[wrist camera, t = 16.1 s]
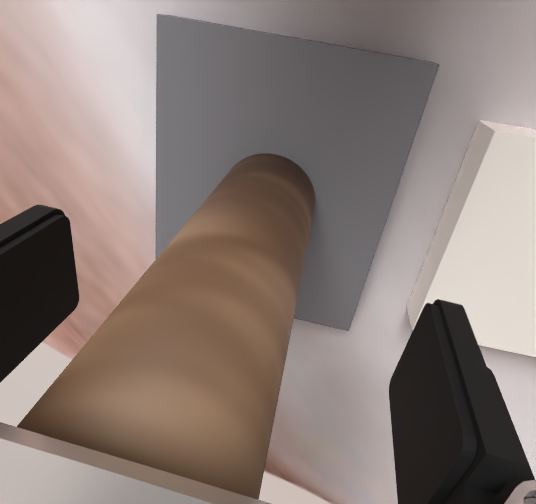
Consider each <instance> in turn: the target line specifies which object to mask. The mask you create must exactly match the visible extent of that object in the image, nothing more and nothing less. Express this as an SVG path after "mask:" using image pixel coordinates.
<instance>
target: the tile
mask: <svg viewBox="0 0 536 504" xmlns="http://www.w3.org/2000/svg"><path fill="white" fill-rule="evenodd" d="M437 299H440V300H444V301H448V302H452V303H456V304H461V305H463V307H464V309H465V311H466V314H467V317H468V319H469V322H470V325H471V327H472V330H473V333H474V335H475V338H476V340H477V343H478V345H480V346H485V347H490V348H494V349H499V350H504V351H508V352H513V353H518V354H523V355H527V356H532V357H536V129H531V128H525V127H518V126H512V125H506V124H500V123H494V122H488V121H482V120H479V121H478V123H477V126H476V129H475V131H474V134H473V136H472V139H471V141H470V144H469V147H468V149H467V152H466V154H465V157H464V159H463V162H462V165H461V167H460V170H459V172H458V175H457V178H456V180H455V183H454V185H453V188H452V190H451V193H450V196H449V198H448V201H447V203H446V206H445V209H444V211H443V214H442V216H441V219H440V221H439V224H438V227H437V229H436V232H435V234H434V237H433V239H432V242H431V245H430V247H429V250H428V252H427V255H426V258H425V260H424V263H423V265H422V268H421V270H420V273H419V276H418V278H417V281H416V283H415V286H414V289H413V291H412V294H411V296H410V299H409V301H408V304H407V309H408V314H409V319H410V324H411V328H412V331H413V330H414V327H415V325H416V323H417V321H418V319H419V316H420V314H421V312H422V310H423V308H424V306H425V304H426V303H431V304H433V303H434V301H435V300H437Z"/></svg>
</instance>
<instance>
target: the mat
mask: <svg viewBox="0 0 536 504" xmlns="http://www.w3.org/2000/svg"><path fill="white" fill-rule="evenodd" d="M438 67H439V65H438V64H436V63H433V62H428V61H422V60H417V59H411V58H405V57H400V56H394V55H389V54H383V53H377V52H372V51H366V50H361V49H355V48H350V47H344V46H338V45H333V44H327V43H322V42H316V41H311V40H305V39H299V38H294V37H288V36H283V35H277V34H271V33H266V32H260V31H255V30H249V29H244V28H238V27H232V26H227V25H221V24H216V23H210V22H205V21H199V20H193V19H188V18H182V17H177V16H171V15H161V14H157V82H156V259H157V258H158V257H159V255H160V254H161V253H162V252H163V251H164V249H165V248H166V247H167V246H168V245H169V243H170V242H171V241H172V240H173V239H174V237H175V236H176V235H177V234H178V233H179V231H180V230H181V229H182V228H183V227H184V225H185V224H186V223H187V222H188V221H189V219H190V218H191V217H192V216H193V215H194V213H195V212H196V211H197V210H198V209H199V207H200V206H201V205H202V204H203V203H204V201H205V200H206V199H207V198H208V197H209V195H210V194H211V193H212V192H213V191H214V189H215V188H216V187H217V186H218V185H219V183H220V182H221V181H222V180H223V179H224V177H225V176H226V175H227V174H228V173H229V171H230V170H231V169H232V168H233V167H234V166H235V165H236V164H237V163H238V162H239V161H241V160H243V159H244V158H246V157H249V156H251V155H255V154H261V153H270V154H277V155H280V156H283V157H286V158H288V159H290V160H291V161H293V162H295V163H296V164H297V165H299V166H300V167H301V168H302V169H303V170H304V172H305V173H306V174H307V175H308V177H309V179H310V181H311V183H312V185H313V188H314V192H315V209H314V214H313V219H312V225H311V230H310V235H309V240H308V245H307V251H306V256H305V261H304V266H303V271H302V276H301V282H300V287H299V292H298V297H297V302H296V307H295V313H294V318H296V319H300V320H304V321H308V322H313V323H317V324H321V325H325V326H329V327H334V328H338V329H342V330H346V331H349V328H350V325H351V322H352V320H353V317H354V314H355V311H356V308H357V305H358V302H359V299H360V296H361V293H362V290H363V287H364V284H365V281H366V278H367V275H368V272H369V270H370V267H371V264H372V261H373V258H374V255H375V252H376V249H377V246H378V243H379V240H380V237H381V234H382V231H383V228H384V225H385V222H386V220H387V217H388V214H389V211H390V208H391V205H392V202H393V199H394V196H395V193H396V190H397V187H398V184H399V181H400V178H401V175H402V172H403V170H404V167H405V164H406V161H407V158H408V155H409V152H410V149H411V146H412V143H413V140H414V137H415V134H416V131H417V128H418V125H419V123H420V120H421V117H422V114H423V111H424V108H425V105H426V102H427V99H428V96H429V93H430V90H431V87H432V84H433V81H434V78H435V75H436V73H437V70H438Z"/></svg>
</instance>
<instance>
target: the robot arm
mask: <svg viewBox="0 0 536 504" xmlns="http://www.w3.org/2000/svg"><path fill="white" fill-rule="evenodd" d="M78 302H79V291H78V283H77V275H76V267H75V259H74V251H73V243H72V235H71V227H70V221H69V219H68V217H66V216H65V214H64V212H63V211H62V210H60V209H56V208H52V207H48V206H44V205H36V206H33V207H31V208H30V209H28V210H26V211H24V212H22V213H20V214H18V215H17V216H15V217H13V218H11V219H9V220H7V221H5V222H4V223H2V224H0V382H1V381H2V380H3V379H4V378H5V377H6V376H7V375H8V374H9V373H11V372H12V371H13V370H14V369H15V368H16V367H17V366H18V365H19V363H21V362H22V361H23V360H24V359H25V358H26V357H27V356H28V355H29V354H30V353H31V352H32V351H33V350H34V349H35V348H36V347H37V346H38V345H39V344H40V343H41V342H42V341H43V340H44V339H45V338H46V337H47V336H48V335H49V334H50V333H51V332H52V331H53V330H54V329H55V328H56V327H57V326H58V325H59V324H60V323H62V322H63V321H64V320H65V319H66V318H67V317H68V316H69V315H70V314H71V313H72V312H73V311H74V310H75V308H76V307H77V305H78ZM389 399H390V411H391V423H392V435H393V447H394V459H395V471H396V483H397V495H398V504H536V480H535V479H534V476H533V473H532V471H531V468H530V466H529V463H528V461H527V458H526V456H525V453H524V450H523V448H522V445H521V443H520V440H519V438H518V435H517V433H516V430H515V427H514V425H513V422H512V420H511V417H510V415H509V412H508V410H507V407H506V404H505V402H504V399H503V397H502V394H501V392H500V389H499V387H498V384H497V382H496V379H495V376H494V375H493V373H492V371H491V370H490V369H489V368H487V367H486V364H485V362H484V359H483V356H482V354H481V351H480V348H479V346H478V343H477V340H476V338H475V335H474V333H473V330H472V327H471V325H470V322H469V319H468V317H467V314H466V311H465V309H464V307H463V305H461V304H456V303H452V302H448V301H444V300H440V299H437V300H435V301H434V303H433V304H431V303H426V304H425V306H424V308H423V310H422V312H421V314H420V316H419V319H418V321H417V323H416V325H415V327H414V330H413V332H412V334H411V336H410V338H409V341H408V343H407V345H406V347H405V349H404V352H403V354H402V356H401V358H400V360H399V362H398V365H397V367H396V369H395V371H394V373H393V376H392V378H391V381H390V386H389ZM0 504H270V503H267V502H264V501H260V500H257V499H254V498H251V497H247V496H244V495H241V494H237V493H234V492H231V491H228V490H224V489H221V488H218V487H215V486H211V485H208V484H205V483H201V482H198V481H195V480H192V479H188V478H185V477H182V476H178V475H175V474H172V473H169V472H165V471H162V470H159V469H155V468H152V467H149V466H145V465H142V464H139V463H135V462H132V461H129V460H125V459H122V458H119V457H115V456H112V455H109V454H105V453H102V452H99V451H95V450H92V449H88V448H85V447H82V446H78V445H75V444H72V443H68V442H65V441H62V440H58V439H55V438H52V437H48V436H45V435H42V434H38V433H35V432H31V431H28V430H25V429H21V428H18V427H14V426H11V425H7V424H4V423H0Z"/></svg>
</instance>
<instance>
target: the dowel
mask: <svg viewBox="0 0 536 504" xmlns="http://www.w3.org/2000/svg"><path fill="white" fill-rule="evenodd" d="M314 209H315V192H314V188H313V185H312V183H311V181H310V179H309V177H308V175H307V174H306V173H305V172H304V170H303V169H302V168H301V167H300V166H299V165H297V164H296V163H295V162H293V161H291V160H290V159H288V158H286V157H283V156H280V155H277V154H270V153H261V154H255V155H251V156H249V157H246V158H244V159H243V160H241V161H239V162H238V163H237V164H236V165H235V166H234V167H233V168H232V169H231V170H230V171H229V173H228V174H227V175H226V176H225V177H224V179H223V180H222V181H221V182H220V183H219V185H218V186H217V187H216V188H215V189H214V191H213V192H212V193H211V194H210V195H209V197H208V198H207V199H206V200H205V201H204V203H203V204H202V205H201V206H200V207H199V209H198V210H197V211H196V212H195V213H194V215H193V216H192V217H191V218H190V219H189V221H188V222H187V223H186V224H185V225H184V227H183V228H182V229H181V230H180V231H179V233H178V234H177V235H176V236H175V237H174V239H173V240H172V241H171V242H170V243H169V245H168V246H167V247H166V248H165V249H164V251H163V252H162V253H161V254H160V255H159V257H158V258H157V259H156V260H155V261H154V263H153V264H152V265H151V266H150V267H149V269H148V270H147V271H146V272H145V273H144V275H143V276H142V277H141V278H140V279H139V281H138V282H137V283H136V284H135V285H134V287H133V288H132V289H131V290H130V291H129V293H128V294H127V295H126V296H125V297H124V299H123V300H122V301H121V302H120V303H119V305H118V306H117V307H116V308H115V309H114V311H113V312H112V313H111V314H110V315H109V317H108V318H107V319H106V320H105V321H104V323H103V324H102V325H101V326H100V327H99V329H98V330H97V331H96V332H95V333H94V335H93V336H92V337H91V338H90V339H89V341H88V342H87V343H86V344H85V345H84V347H83V348H82V349H81V350H80V351H79V353H78V354H77V355H76V356H75V357H74V359H73V360H72V361H71V362H70V363H69V365H68V366H67V367H66V369H64V371H63V372H62V373H61V374H60V375H59V377H58V378H57V379H56V380H55V381H54V383H53V384H52V385H51V386H50V387H49V389H48V390H47V391H46V393H45V394H44V395H43V396H42V397H41V398H40V400H39V401H38V402H37V403H36V404H35V405H34V407H33V408H32V409H31V410H30V411H29V413H28V414H27V415H26V416H25V417H24V419H23V420H22V421H21V422H20V423H19V425H18V426H17V427H18V428H21V429H25V430H28V431H31V432H35V433H38V434H42V435H45V436H48V437H52V438H55V439H58V440H62V441H65V442H68V443H72V444H75V445H78V446H82V447H85V448H88V449H92V450H95V451H99V452H102V453H105V454H109V455H112V456H115V457H119V458H122V459H125V460H129V461H132V462H135V463H139V464H142V465H145V466H149V467H152V468H155V469H159V470H162V471H165V472H169V473H172V474H175V475H178V476H182V477H185V478H188V479H192V480H195V481H198V482H201V483H205V484H208V485H211V486H215V487H218V488H221V489H224V490H228V491H231V492H234V493H237V494H241V495H244V496H247V497H251V498H254V499H257V500H258V499H259V494H260V488H261V483H262V478H263V473H264V468H265V463H266V458H267V452H268V447H269V442H270V437H271V432H272V426H273V421H274V416H275V411H276V406H277V401H278V395H279V390H280V385H281V380H282V375H283V370H284V364H285V359H286V354H287V349H288V344H289V338H290V333H291V328H292V323H293V318H294V313H295V307H296V302H297V297H298V292H299V287H300V282H301V276H302V271H303V266H304V261H305V256H306V251H307V245H308V240H309V235H310V230H311V225H312V219H313V214H314Z"/></svg>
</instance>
